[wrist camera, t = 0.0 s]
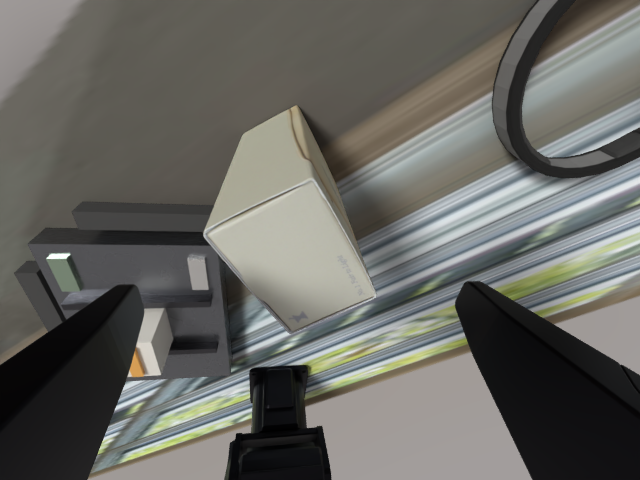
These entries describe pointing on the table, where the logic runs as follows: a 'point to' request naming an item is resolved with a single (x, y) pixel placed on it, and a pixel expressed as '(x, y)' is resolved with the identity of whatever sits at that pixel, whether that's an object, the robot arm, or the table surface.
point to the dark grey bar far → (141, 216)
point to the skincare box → (288, 226)
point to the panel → (147, 287)
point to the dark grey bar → (40, 294)
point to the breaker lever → (152, 344)
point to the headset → (510, 97)
